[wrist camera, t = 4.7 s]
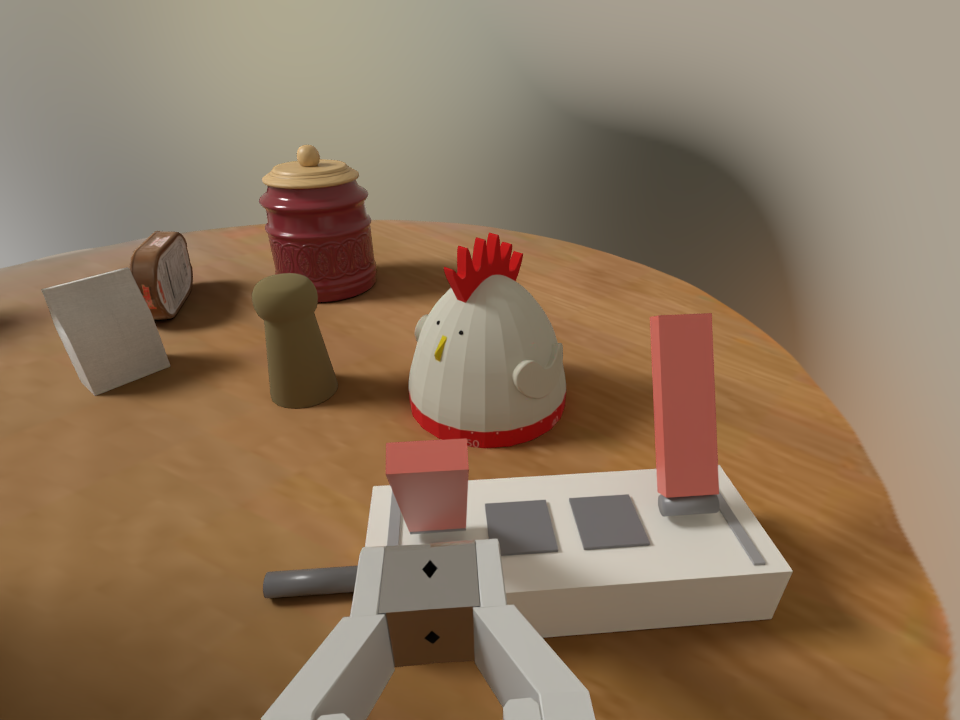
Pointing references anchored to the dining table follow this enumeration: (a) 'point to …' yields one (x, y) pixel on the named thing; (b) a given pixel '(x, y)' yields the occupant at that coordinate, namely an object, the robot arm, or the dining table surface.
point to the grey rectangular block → (106, 329)
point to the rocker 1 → (430, 483)
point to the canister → (320, 225)
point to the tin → (163, 273)
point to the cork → (294, 341)
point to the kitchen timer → (487, 355)
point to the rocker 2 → (684, 414)
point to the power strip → (594, 553)
